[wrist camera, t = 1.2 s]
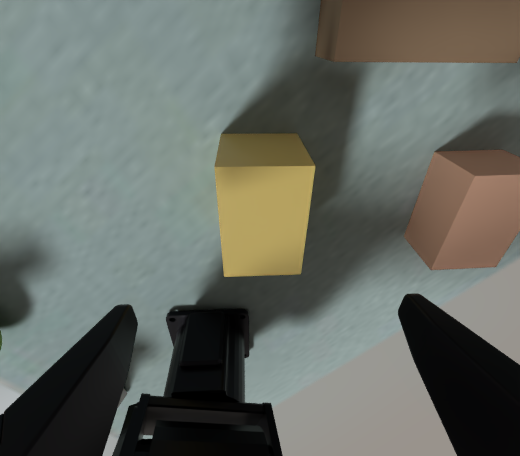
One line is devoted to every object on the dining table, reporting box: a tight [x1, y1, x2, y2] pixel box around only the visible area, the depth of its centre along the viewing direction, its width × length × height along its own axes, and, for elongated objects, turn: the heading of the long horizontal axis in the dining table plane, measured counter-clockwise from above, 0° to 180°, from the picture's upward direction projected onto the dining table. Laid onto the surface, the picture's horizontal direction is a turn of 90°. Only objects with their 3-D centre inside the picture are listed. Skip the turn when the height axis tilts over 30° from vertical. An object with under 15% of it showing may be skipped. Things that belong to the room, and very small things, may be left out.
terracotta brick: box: [404, 150, 520, 270], centre depth 16 cm, size 6×4×4 cm, turn 0°
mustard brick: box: [215, 133, 315, 277], centre depth 14 cm, size 6×4×4 cm, turn 179°
